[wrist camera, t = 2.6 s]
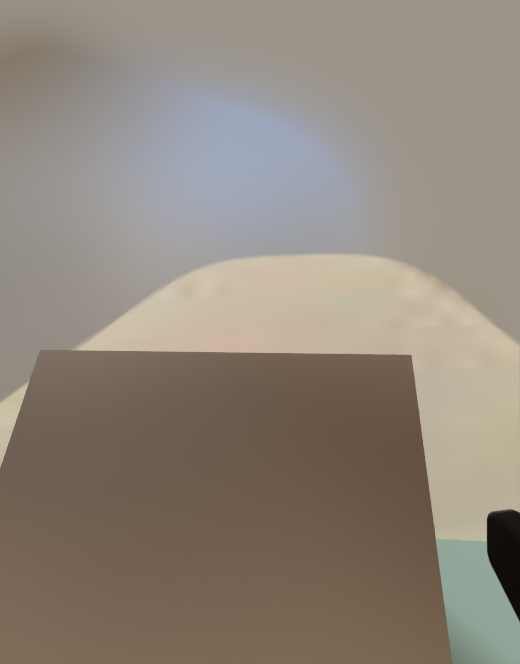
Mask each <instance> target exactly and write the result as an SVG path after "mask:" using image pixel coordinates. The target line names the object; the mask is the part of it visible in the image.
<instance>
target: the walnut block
mask: <svg viewBox="0 0 520 664" xmlns="http://www.w3.org/2000/svg"><path fill="white" fill-rule="evenodd" d="M0 664H452V658H451V651H450V643H449V635H448V628H447V620H446V613H445V605H444V598H443V590H442V583H441V575H440V568H439V560H438V553H437V545H436V538H435V530H434V523H433V515H432V507H431V500H430V492H429V485H428V477H427V470H426V462H425V455H424V447H423V440H422V432H421V425H420V417H419V410H418V402H417V395H416V387H415V379H414V372H413V364H412V357H411V355H374V354H299V353H223V352H148V351H72V350H68V351H67V350H40V352H39V355H38V358H37V361H36V364H35V367H34V370H33V373H32V376H31V378H30V381H29V384H28V387H27V390H26V393H25V396H24V399H23V402H22V405H21V408H20V411H19V414H18V417H17V420H16V423H15V426H14V429H13V432H12V435H11V438H10V441H9V444H8V447H7V450H6V453H5V456H4V459H3V462H2V465H1V468H0Z"/></svg>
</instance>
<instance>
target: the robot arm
mask: <svg viewBox="0 0 520 664" xmlns="http://www.w3.org/2000/svg"><path fill="white" fill-rule="evenodd" d="M487 554H488V558H489V561H490V564H491V566H492V568H493V570H494V572H495V574H496V576H497V578H498V580H499V582H500V584H501V586H502V588H503V590H504V592H505V594H506V596H507V598H508V600H509V602H510V604H511V606H512V608H513V610H514V612H515V614H516V616H517V618H518V620H519V622H520V513H519V512H517V511H515V510H510V509H509V510H501V511H493V512H491V513H489V514H488V517H487Z"/></svg>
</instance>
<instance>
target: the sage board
mask: <svg viewBox="0 0 520 664" xmlns="http://www.w3.org/2000/svg"><path fill="white" fill-rule="evenodd" d="M436 545H437V553H438V560H439V568H440V575H441V583H442V590H443V598H444V605H445V613H446V620H447V628H448V635H449V643H450V651H451V658H452V664H520V622H519V620H518V618H517V616H516V614H515V612H514V610H513V608H512V606H511V604H510V602H509V600H508V598H507V596H506V594H505V592H504V590H503V588H502V586H501V584H500V582H499V580H498V578H497V576H496V574H495V572H494V570H493V568H492V566H491V564H490V561H489V558H488V554H487V542H483V541H462V540H441V539H436Z"/></svg>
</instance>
